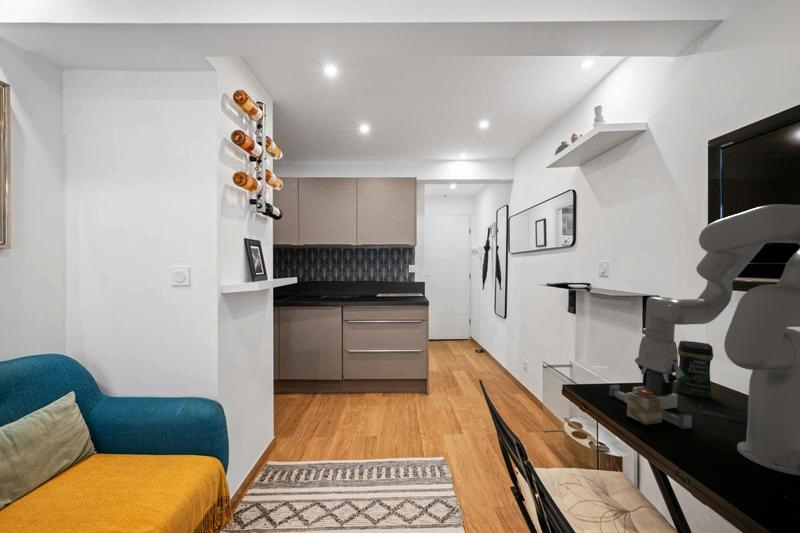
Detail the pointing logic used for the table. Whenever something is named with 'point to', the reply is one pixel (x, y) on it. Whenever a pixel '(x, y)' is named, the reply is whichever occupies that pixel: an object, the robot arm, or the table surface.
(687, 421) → the rail
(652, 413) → the wooden box
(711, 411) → the phone
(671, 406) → the carriage
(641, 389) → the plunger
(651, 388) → the bottle
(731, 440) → the table surface
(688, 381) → the coffee jar
